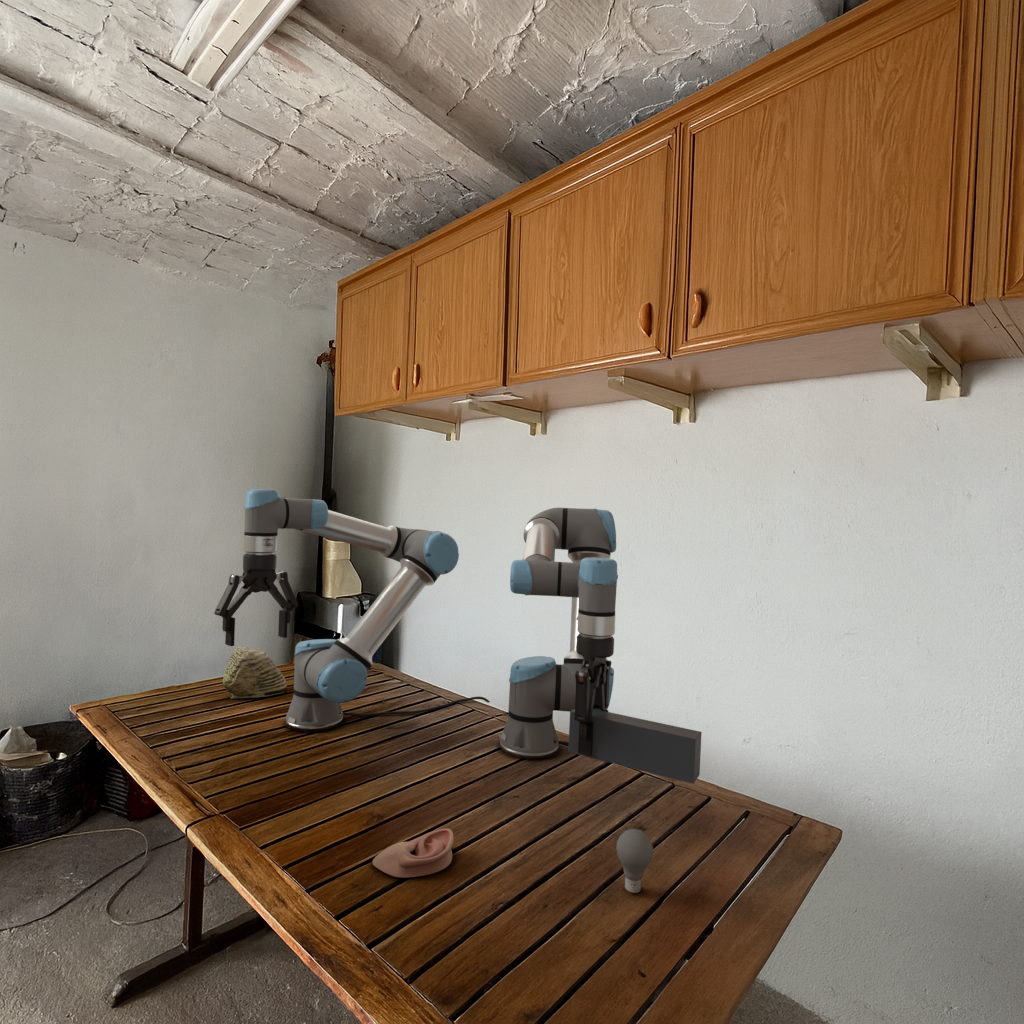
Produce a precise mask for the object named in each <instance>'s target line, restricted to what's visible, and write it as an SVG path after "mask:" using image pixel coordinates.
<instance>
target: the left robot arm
mask: <svg viewBox="0 0 1024 1024" xmlns="http://www.w3.org/2000/svg"><path fill="white" fill-rule="evenodd" d="M279 529H280V530H283V529H287V530H288V529H291V530H297V531H301V532H305V533H309V534H312V535H316V536H319V537H323V538H327V539H331V540H334V541H338V542H341V543H345V544H349V545H353V546H356V547H359V548H363V549H367V550H371V551H375V552H379V554H380V556H381V557H383V558H388V559H390V560H393V561H395V562H398V563H400V568H399V570H398V571H397V572H396V573H395V575H394V576H393V577H392V578H391V580H390V581H389V582H388V584H386V586H385V587H384V589H382V591H381V592H380V593H379V595H378V596H377V598H376V599H375V600H374V601H373V602H372V604H371V605H370V606H369V607H368V609H367V610H366V612H365V613H364V614H363V615H362V616H361V618H359V621H358V622H357V623H356V624H355V625H354V627H353V628H352V629H351V630H350V631H349V632H348V633H347V635H346V636H345V637H341V638H337V639H334V638H323V639H322V638H319V639H307V640H303V641H299V642H297V644H296V645H295V650H294V653H293V654H294V655H293V656H294V672H293V695H292V696H293V697H292V699H291V702H290V704H289V708H288V711H287V713H286V715H285V726H286V728H287V729H289V730H291V731H294V732H295V731H296V732H301V733H316V732H325V731H329V730H332V729H335V728H337V727H339V726H340V725H342V723H343V722H344V716H349V717H359V718H361V717H362V718H363V717H376V716H385V715H388V716H389V715H412V714H413V715H414V714H422V713H428V712H431V711H435V710H438V709H443V708H446V707H449V706H453V705H454V704H458V703H463V702H468V701H472V700H473V701H474V700H482V701H484V702H486V703H491V701H490V700H489V699H487V698H486V697H483V696H471V697H465V698H462V699H461V698H460V699H456V700H453V701H450V702H447V703H444V704H440V705H437V706H433V707H429V708H425V709H418V710H417V709H416V710H398V711H397V710H395V711H381V712H371V713H370V712H369V713H355V712H347V711H345V712H344V711H343V709H342V706H341V704H344V703H349V702H351V701H353V700H355V699H357V697H359V696H360V695H362V693H363V691H364V689H365V688H366V685H367V682H368V672H369V670H370V669H371V668H372V667H373V665H374V664H373V656H374V654H375V653H376V652H377V650H378V649H379V648H380V646H381V645H382V644H383V643H384V641H385V640H386V639H387V637H388V636H389V635H390V633H391V632H392V631H393V630H394V628H395V627H396V625H397V624H398V623H399V621H400V620H401V619H402V618H403V616H404V615H405V613H406V612H407V611H408V610H409V608H410V607H411V606H412V604H414V602H415V601H416V599H417V598H418V596H419V595H420V594H421V593H422V591H423V590H424V589H425V587H428V586H429V587H430V586H433V585H434V584H435V583H436V582H437V580H438V579H439V577H441V575H442V576H443V575H447V574H449V573H451V572H453V570H454V569H455V568H456V567H457V565H458V562H459V558H460V553H459V546H458V543H457V541H456V539H455V538H453V537H452V536H451V535H450V534H449V533H446V532H443V531H440V530H434V531H433V530H428V529H427V530H426V529H418V528H403V527H399V526H396V525H392V524H391V525H388V526H384V525H380V524H377V523H373V522H370V521H366V520H364V519H360V518H357V517H354V516H350V515H346V514H344V513H340V512H337V511H333V510H331V509H329V508H328V505H327V503H326V502H325V500H322V499H315V498H293V497H286V496H280V492H279V491H278V490H277V489H258V488H257V489H256V488H251V489H249V490H247V491H246V494H245V501H244V533H243V550H242V551H243V552H245V553H244V554H243V556H242V557H243V558H242V571H243V572H242V574H241V575H238V574H234V573H232V574H230V575H229V578H228V584H227V586H226V588H225V590H224V592H223V594H222V596H221V597H220V600H219V601H218V604H217V605H216V607H215V610H214V612H213V614H214V615H215V616H219V617H221V618H222V627H221V628H222V632H225V640H224V642H225V643H224V644H225V646H228V647H235V638H236V637H235V635H236V633H235V632H236V618H235V617H233V616H234V615H235V613H236V612H237V611H238V609H240V607H241V605H242V604H243V603H244V602H245V600H246V599H247V598H248V597H249V596H251V594H252V593H255V594H256V593H260V592H263V593H267V592H268V593H269V594H270V595H271V597H272V598H273V599H274V600H275V601H276V603H277V604H278V605H279V606H280V607H281V609H279V610H278V633H277V634H278V635H277V636H278V637H279V638H284V639H287V638H288V624H290V623H291V612H293V611H294V609H295V608H298V607H299V602H298V600H297V599H296V595H295V594H294V591H293V588H292V586H291V584H290V582H289V575H288V572H287V571H283V570H279V571H278V572H276V569H277V560H278V556H277V554H276V553H277V551H278V550H277V549H278V535H279V532H278V531H279ZM276 580H277V581H278V584H279V586H280V588H281V590H282V591H281V592H282V593H281V592H280V591H279V588H278V587H277V586H276V584H275V581H276ZM241 583H243V585H242V586H241V587H240V588H239V585H240V584H241ZM238 588H239V591H238V592H237V590H238ZM236 593H237V594H236ZM235 594H236V595H235Z"/></svg>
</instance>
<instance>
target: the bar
mask: <svg viewBox="0 0 1024 1024" xmlns="http://www.w3.org/2000/svg"><path fill="white" fill-rule="evenodd" d="M574 718H575V709H573V710H572V711H570V712H569V725H568V728H569V729H568V742H569V745H568V747H567V750H568V751H567V752H568V753H571V754H575V755H578V756H583V757H587V758H590V759H594V760H599V761H602V762H606V763H610V764H614V765H617V766H621V767H626V768H630V769H634V770H637V771H641V772H645V773H648V774H649V773H650V774H654V775H657V776H661V777H665V778H669V779H672V780H677V781H681V782H684V783H688V784H692V785H693V784H695V782H696V781H697V780H698V778H699V777H700V772H701V755H702V754H701V751H702V733H703V732H702V731H699V730H694V729H690V728H685V727H680V726H676V725H673V724H672V725H671V724H666V723H662V722H657V721H653V720H648V719H643V718H638V717H634V716H629V715H624V714H619V713H615V712H611V711H608V712H606V711H601V710H597V709H593V714H592V721H591V722H593V744H592V755H591V756H588V755H584V754H580V753H578V741H579V721H576V720H575V719H574Z"/></svg>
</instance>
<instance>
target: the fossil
mask: <svg viewBox="0 0 1024 1024" xmlns="http://www.w3.org/2000/svg"><path fill="white" fill-rule="evenodd" d="M222 676H223V677H222V685H223V687H224V688H225V690H226V691H228V693H229V698H230V699H250V698H264V697H271V696H275V695H281V694H284V693H285V691H286V689H287V687H288V686H287V680H286V678H285V676H284V674H283V673H282V672H281V669H279V668H278V667H277V665H276V663H275V662H274V660H273V659H272V658H271V657H270V656H269V655H268V654H267V653H266V652H265V650H264V649H263V648H260V647H258V648H251V647H247V646H246V647H245V646H238V647H237V648H236V649H235V650H233V651H232V653H231V656H230V657H229V659H228V660H227V663H226V666H225V668H224V671H223V675H222Z"/></svg>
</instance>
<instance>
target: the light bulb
mask: <svg viewBox="0 0 1024 1024" xmlns="http://www.w3.org/2000/svg"><path fill="white" fill-rule="evenodd" d="M615 849H616V854H617V857H618V859H619V861H620V863H621V865H622V867H623V873H624V874H623V875H624V876H625V878H624V888H625V890H627V891H628V892H630V893H634V894H635V893H639V892H640V891H641V889H642V887H641V886H642V879H643V877H644V875H645V871H646V868H647V867H648V866H649V864H650V863H651V861H652V859H653V855H654V847H653V843H652V841H651V838H649V836H648V835H647V834H646V833H645V832H643V831H642V830H641V829H636V828H629V829H627V830H625V831H623V832H622V833H621V834H620V835H619V837H618V839H617V841H616V847H615Z"/></svg>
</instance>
